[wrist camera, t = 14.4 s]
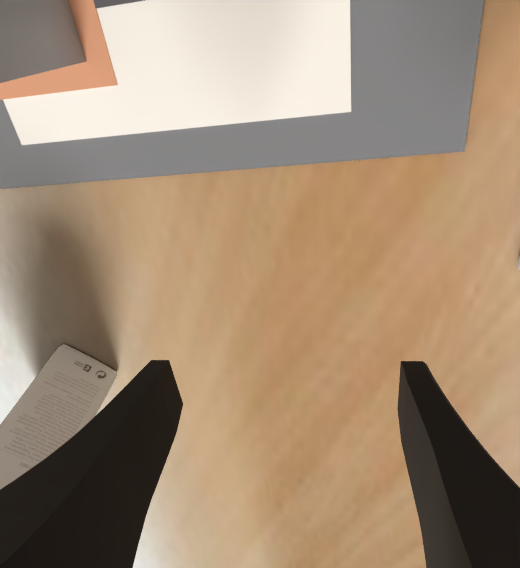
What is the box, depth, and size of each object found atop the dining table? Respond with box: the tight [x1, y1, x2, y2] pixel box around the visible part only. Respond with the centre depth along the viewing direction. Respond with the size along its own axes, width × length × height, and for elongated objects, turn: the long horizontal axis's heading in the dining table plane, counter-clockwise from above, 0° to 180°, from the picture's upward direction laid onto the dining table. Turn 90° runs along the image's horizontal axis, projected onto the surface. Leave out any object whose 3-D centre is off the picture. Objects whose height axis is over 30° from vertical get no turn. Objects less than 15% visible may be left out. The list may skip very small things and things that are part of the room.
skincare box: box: [0, 344, 117, 489], centre depth 24 cm, size 6×4×12 cm
